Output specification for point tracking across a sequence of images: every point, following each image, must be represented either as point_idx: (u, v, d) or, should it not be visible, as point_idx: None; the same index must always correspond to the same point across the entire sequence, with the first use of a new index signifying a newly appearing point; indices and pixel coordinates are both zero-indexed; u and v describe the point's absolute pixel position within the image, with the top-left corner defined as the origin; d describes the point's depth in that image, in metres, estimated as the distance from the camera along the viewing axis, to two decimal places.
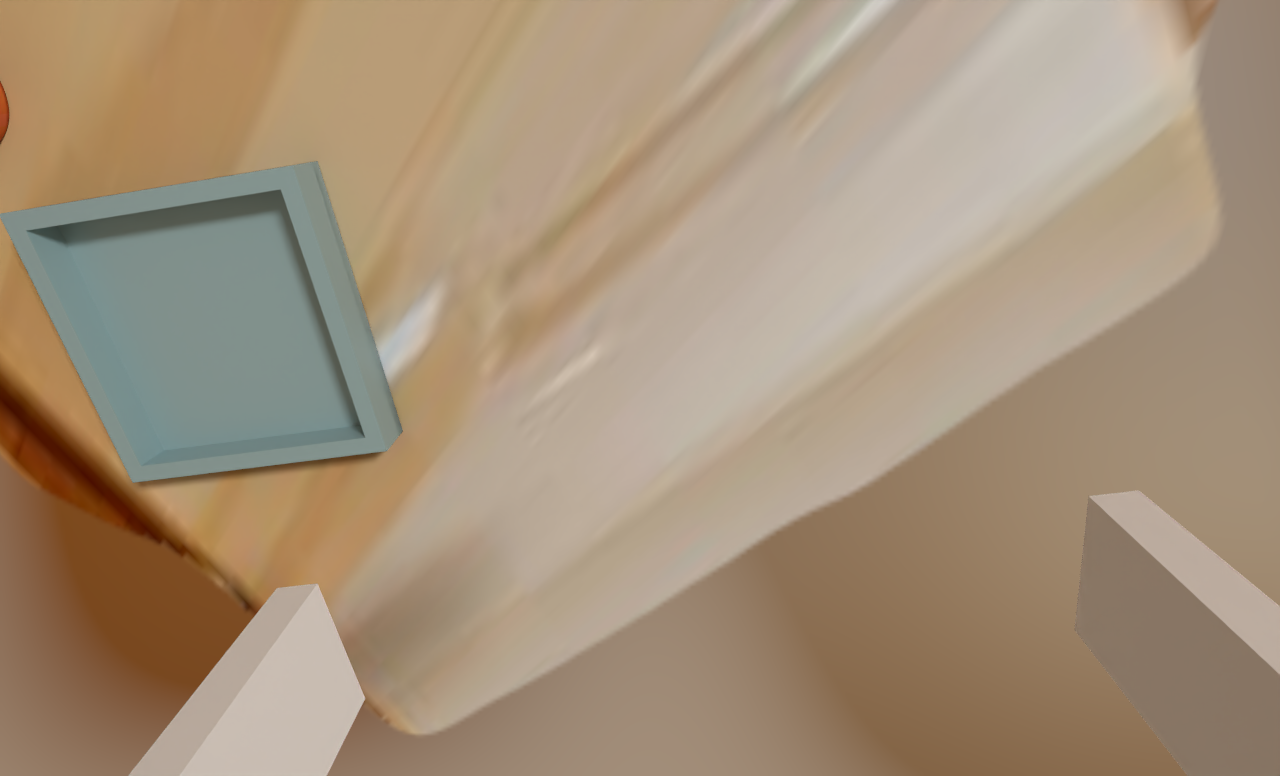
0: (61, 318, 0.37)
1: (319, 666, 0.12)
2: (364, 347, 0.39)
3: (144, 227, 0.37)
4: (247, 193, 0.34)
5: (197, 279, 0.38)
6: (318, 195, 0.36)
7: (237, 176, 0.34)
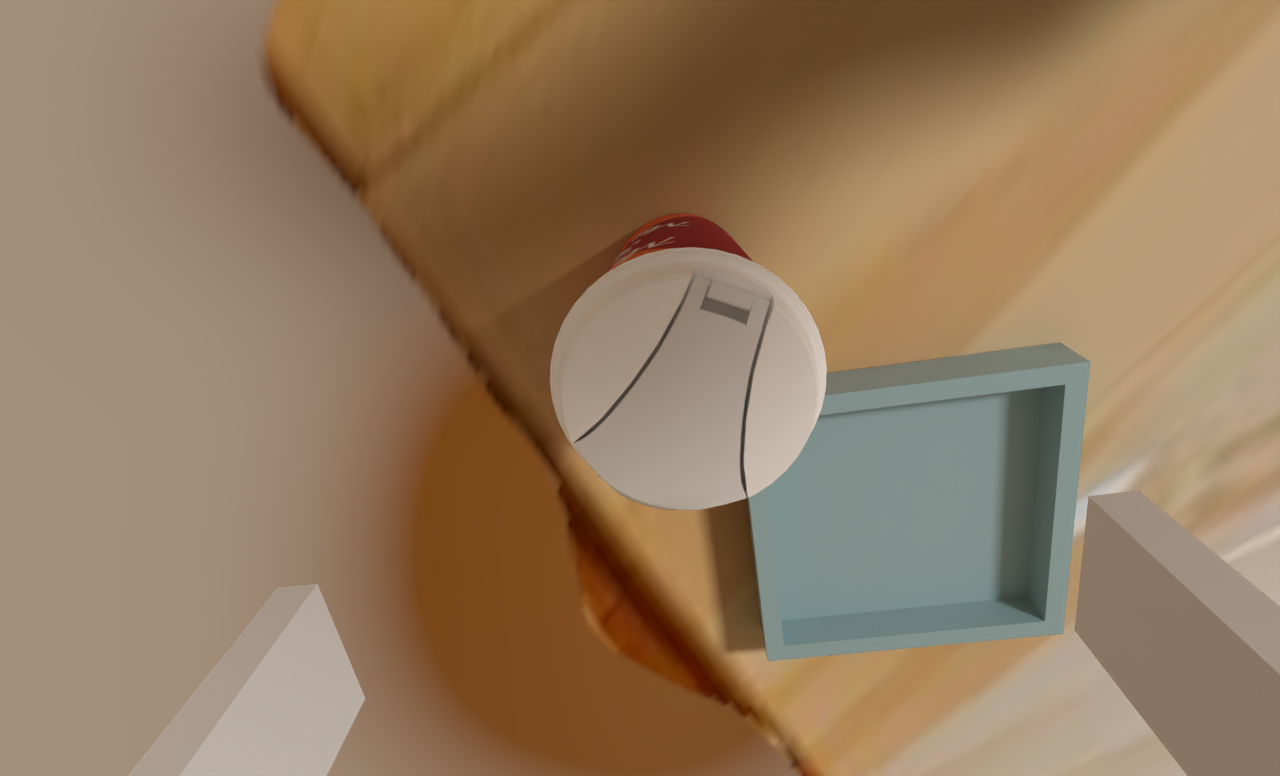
0: (761, 506, 0.35)
1: (319, 666, 0.12)
2: None
3: None
4: (1026, 388, 0.32)
5: (888, 459, 0.36)
6: None
7: (1022, 371, 0.32)
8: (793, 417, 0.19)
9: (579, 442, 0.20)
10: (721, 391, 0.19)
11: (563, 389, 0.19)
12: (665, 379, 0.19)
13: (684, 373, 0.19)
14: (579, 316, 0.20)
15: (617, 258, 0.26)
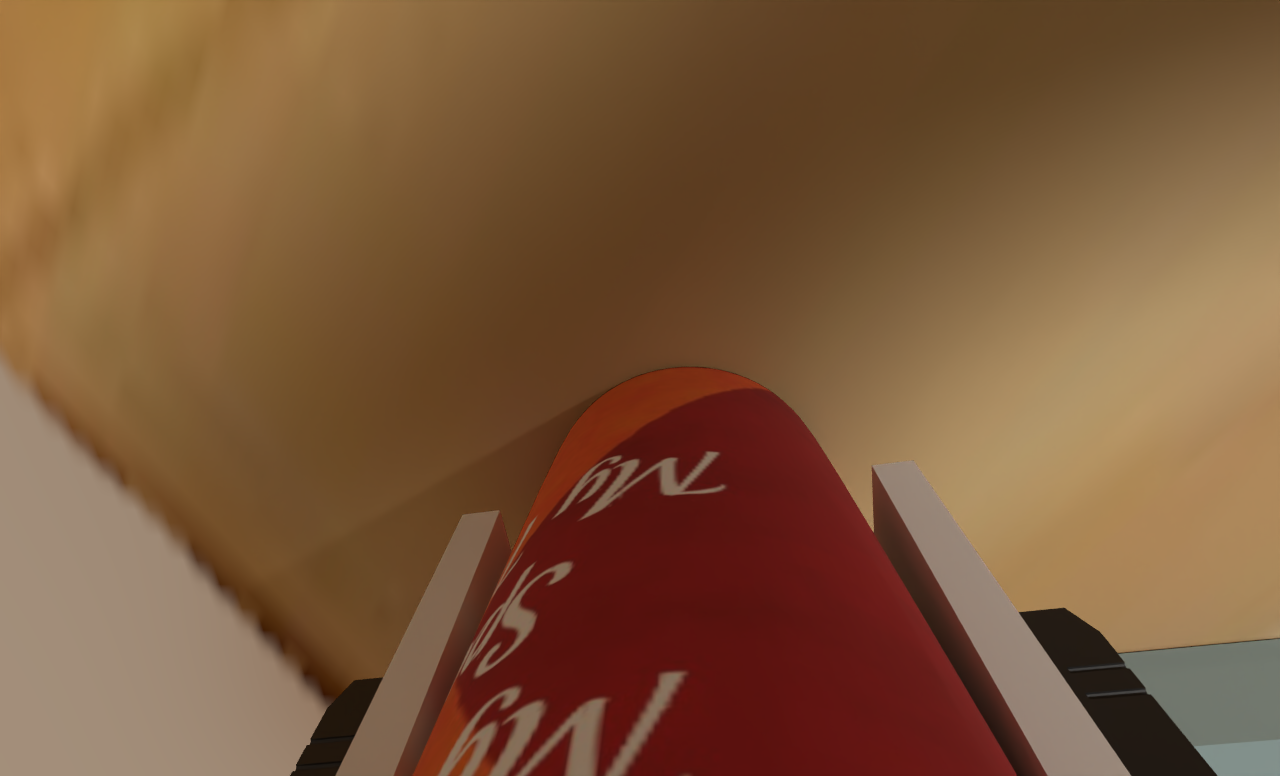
0: None
1: None
2: None
3: None
4: None
5: None
6: None
7: None
8: None
9: None
10: None
11: None
12: None
13: None
14: None
15: (497, 626, 0.08)
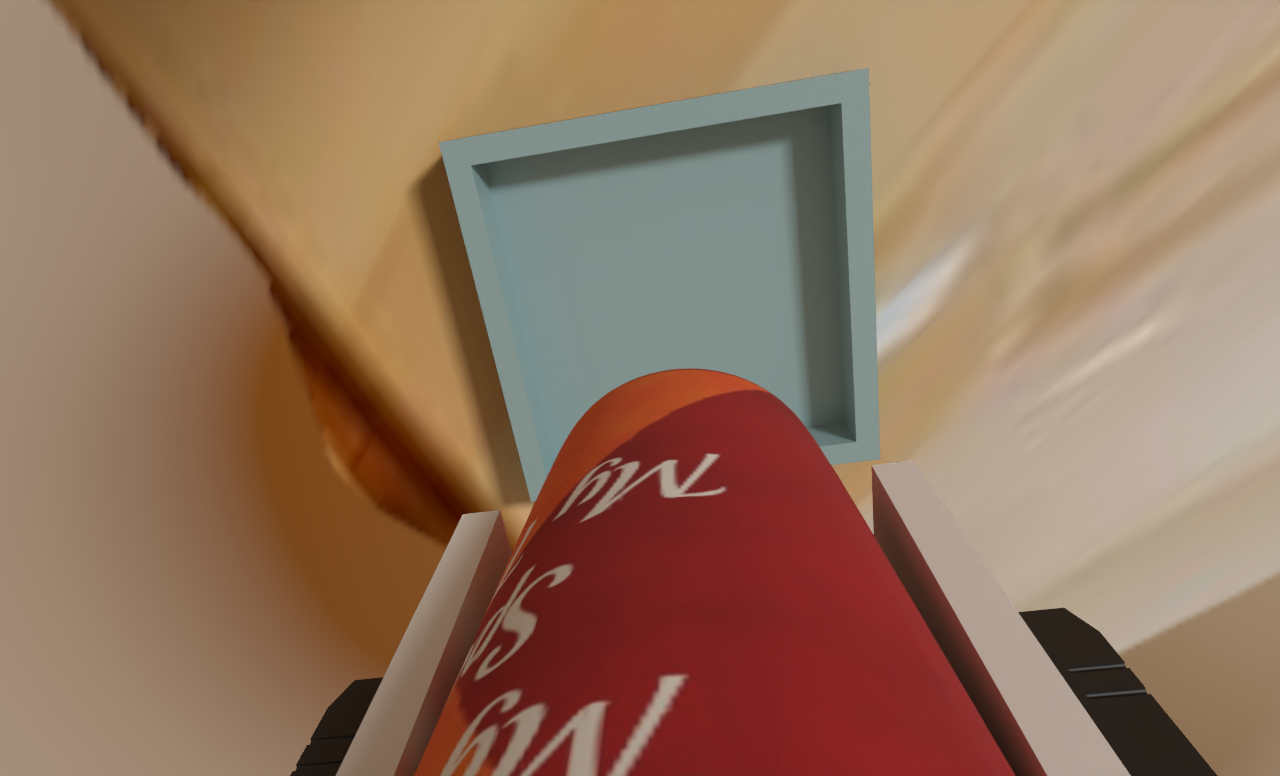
0: (490, 286, 0.28)
1: None
2: None
3: (600, 164, 0.28)
4: (792, 109, 0.25)
5: (654, 234, 0.29)
6: None
7: (785, 85, 0.25)
8: None
9: None
10: None
11: None
12: None
13: None
14: None
15: (497, 628, 0.08)
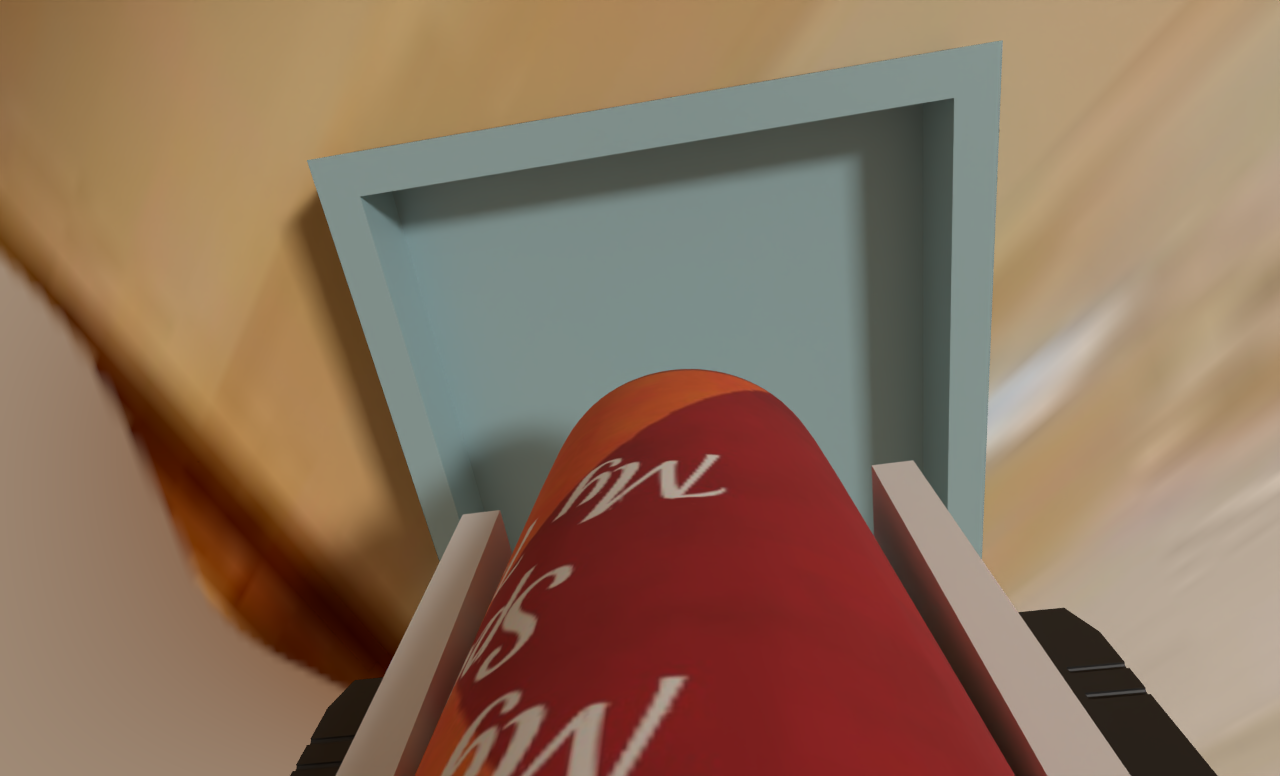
0: (400, 377, 0.18)
1: None
2: None
3: (568, 191, 0.18)
4: (874, 108, 0.15)
5: (651, 295, 0.19)
6: None
7: (863, 68, 0.15)
8: None
9: None
10: None
11: None
12: None
13: None
14: None
15: (497, 629, 0.08)
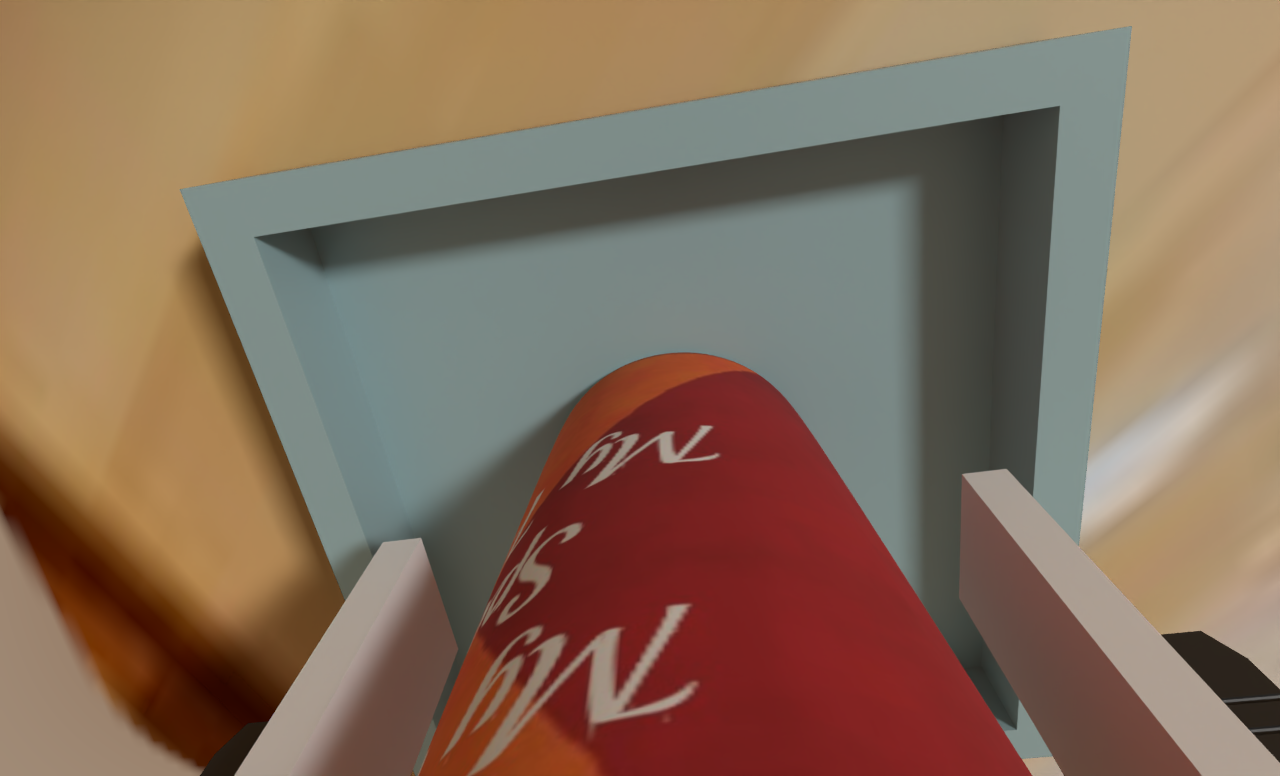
0: (319, 466, 0.14)
1: (425, 614, 0.13)
2: None
3: (537, 226, 0.14)
4: (949, 119, 0.11)
5: (644, 356, 0.15)
6: None
7: (936, 65, 0.11)
8: None
9: None
10: None
11: None
12: None
13: None
14: None
15: (514, 581, 0.09)
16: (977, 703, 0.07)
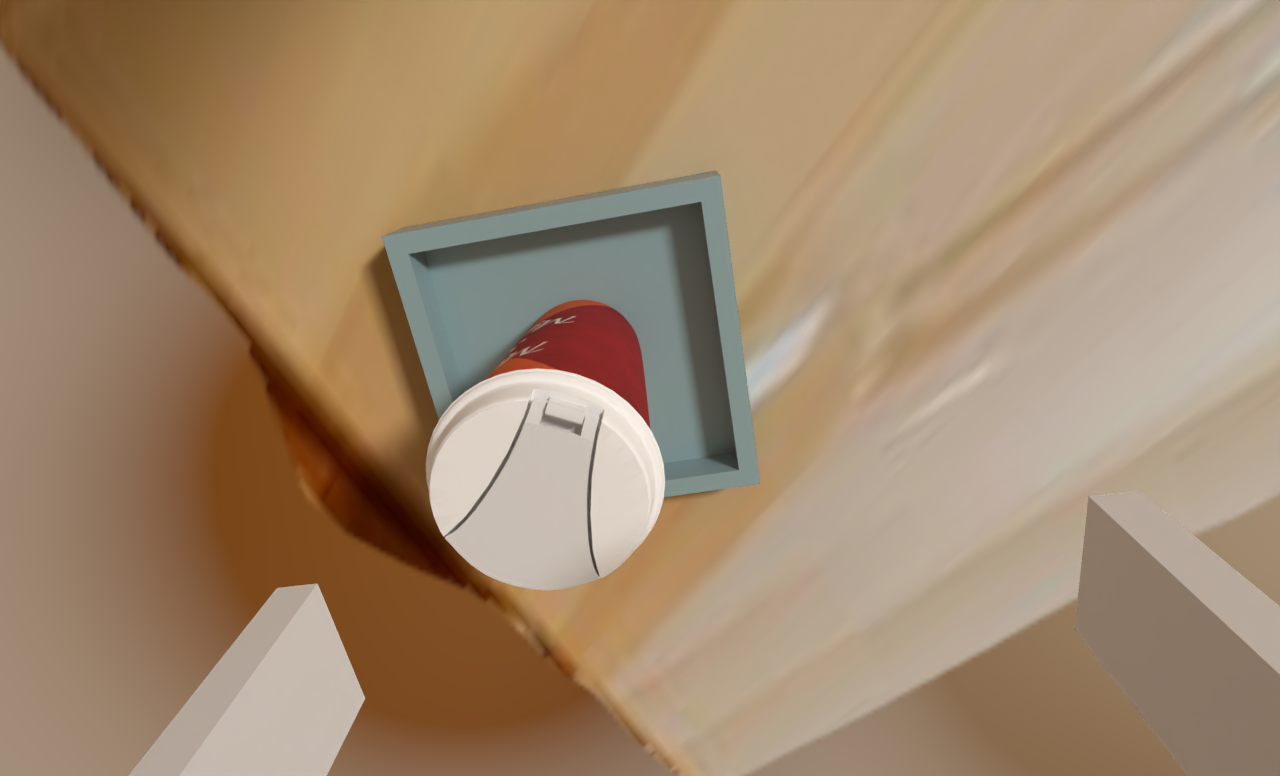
0: (428, 348, 0.34)
1: (319, 666, 0.12)
2: None
3: (517, 247, 0.34)
4: (663, 207, 0.31)
5: None
6: None
7: (655, 188, 0.31)
8: (629, 511, 0.22)
9: (449, 535, 0.23)
10: (566, 490, 0.22)
11: (430, 492, 0.22)
12: (517, 482, 0.22)
13: (532, 477, 0.22)
14: (445, 428, 0.23)
15: None
16: (621, 366, 0.27)
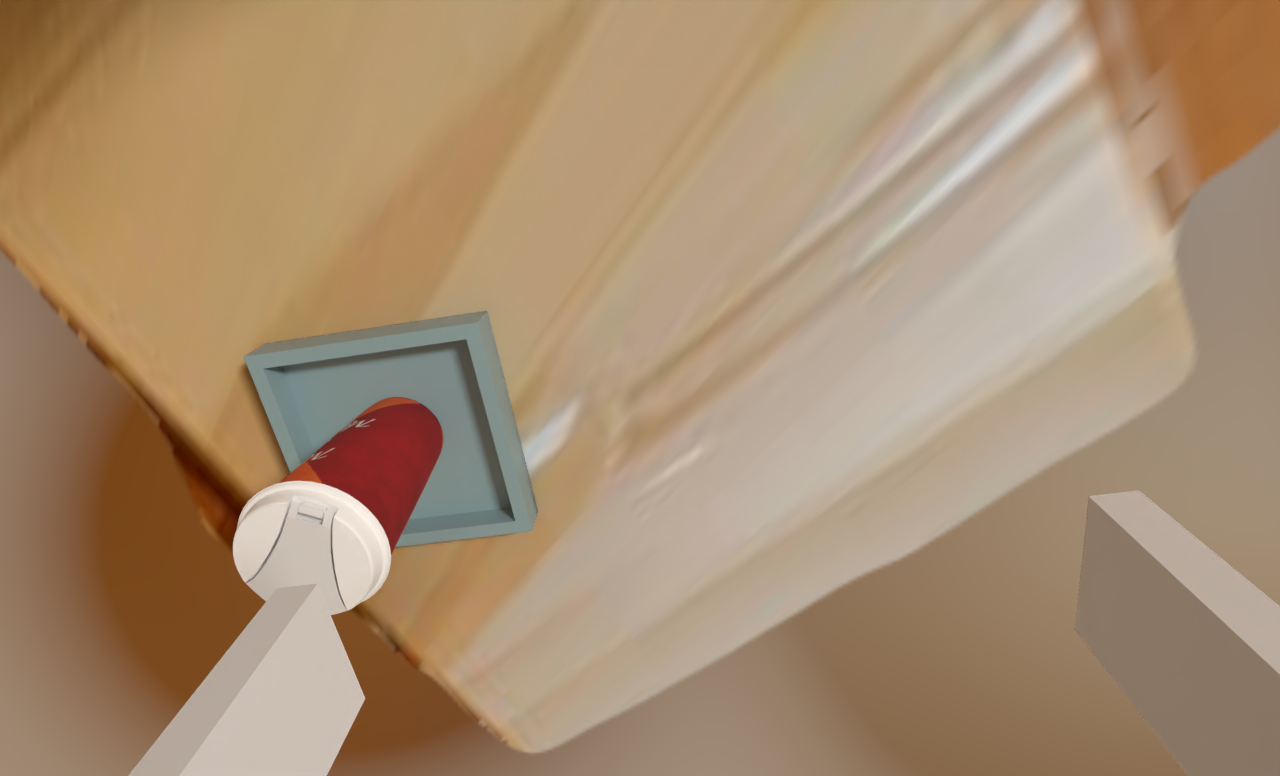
0: (282, 432, 0.47)
1: (319, 666, 0.12)
2: (516, 451, 0.49)
3: (347, 360, 0.47)
4: (440, 342, 0.44)
5: (385, 398, 0.48)
6: (489, 338, 0.46)
7: (433, 330, 0.44)
8: (359, 570, 0.36)
9: (249, 582, 0.36)
10: (318, 556, 0.35)
11: None
12: (286, 551, 0.35)
13: (296, 548, 0.35)
14: (245, 515, 0.36)
15: None
16: (384, 465, 0.40)
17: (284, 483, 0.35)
